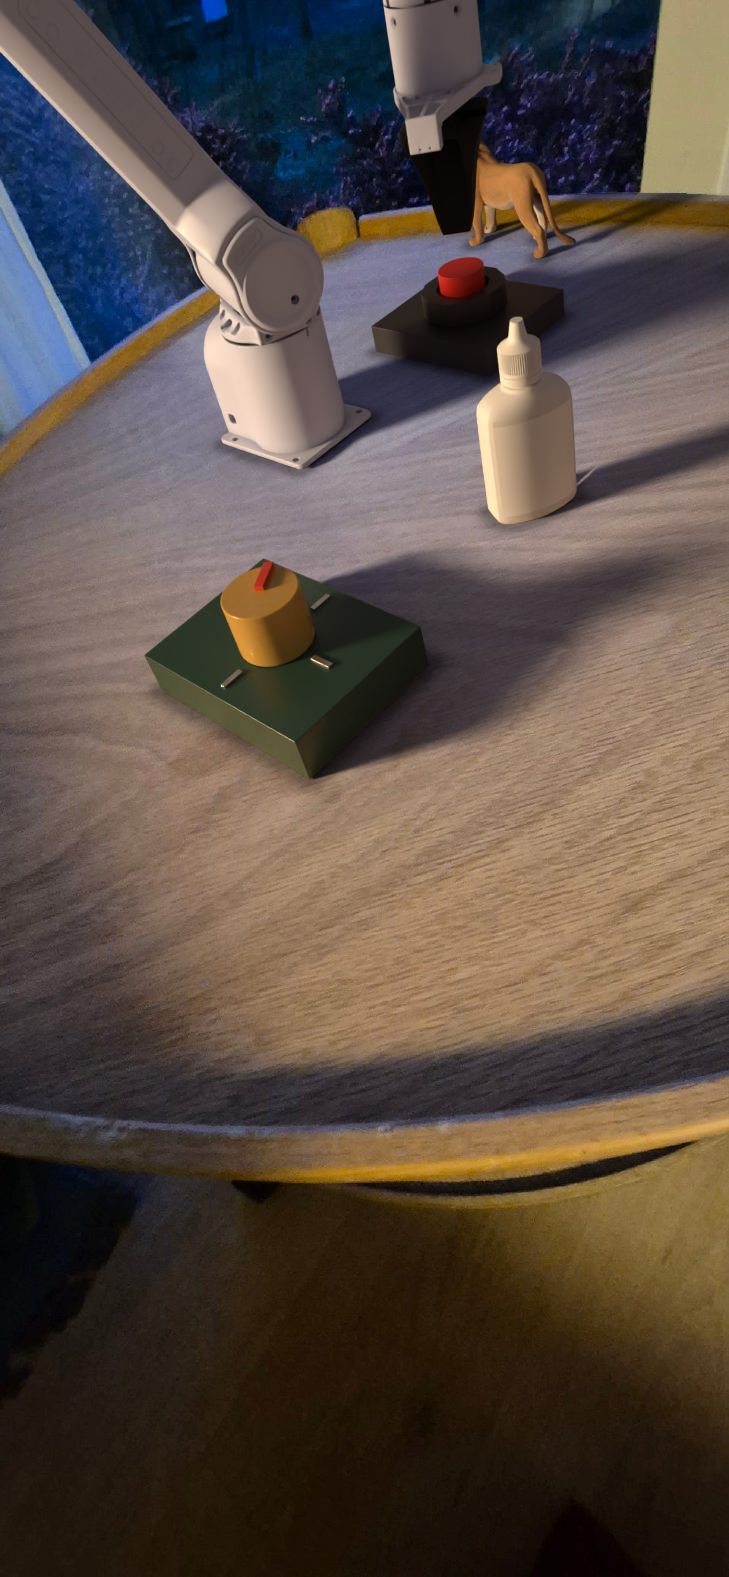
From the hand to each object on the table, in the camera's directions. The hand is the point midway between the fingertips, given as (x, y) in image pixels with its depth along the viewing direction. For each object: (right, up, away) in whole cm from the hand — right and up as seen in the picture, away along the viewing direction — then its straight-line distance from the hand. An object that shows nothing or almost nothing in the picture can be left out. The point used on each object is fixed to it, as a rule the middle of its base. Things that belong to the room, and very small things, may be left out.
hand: (457, 230), depth 68 cm
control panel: (-11, -34, -13) cm, 38 cm away
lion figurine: (+6, +10, +19) cm, 23 cm away
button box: (+2, -3, +9) cm, 10 cm away
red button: (+1, -1, +7) cm, 7 cm away
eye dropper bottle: (+4, -22, -7) cm, 24 cm away
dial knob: (-12, -32, -15) cm, 37 cm away
